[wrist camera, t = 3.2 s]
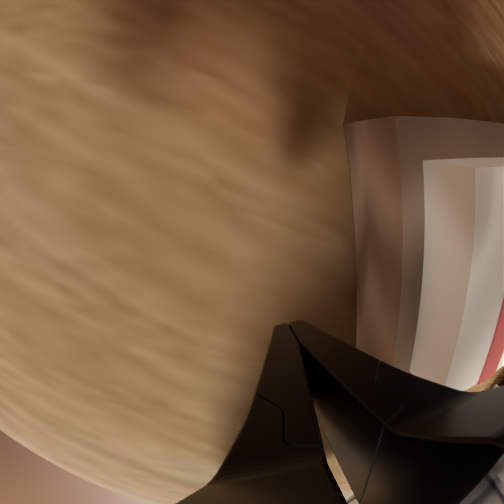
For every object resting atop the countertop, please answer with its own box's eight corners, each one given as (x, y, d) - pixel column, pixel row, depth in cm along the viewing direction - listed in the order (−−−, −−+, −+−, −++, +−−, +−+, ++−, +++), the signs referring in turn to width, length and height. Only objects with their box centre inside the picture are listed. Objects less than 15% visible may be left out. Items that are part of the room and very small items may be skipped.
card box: (492, 329, 12) (522, 353, 10) (409, 370, 12) (438, 407, 9) (512, 157, 9) (556, 165, 7) (422, 160, 9) (477, 168, 6)
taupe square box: (507, 290, 17) (541, 313, 13) (355, 353, 16) (386, 399, 12) (516, 129, 13) (560, 134, 9) (343, 123, 12) (394, 115, 8)
